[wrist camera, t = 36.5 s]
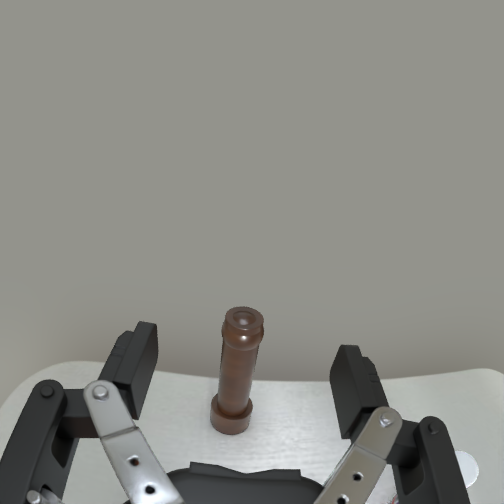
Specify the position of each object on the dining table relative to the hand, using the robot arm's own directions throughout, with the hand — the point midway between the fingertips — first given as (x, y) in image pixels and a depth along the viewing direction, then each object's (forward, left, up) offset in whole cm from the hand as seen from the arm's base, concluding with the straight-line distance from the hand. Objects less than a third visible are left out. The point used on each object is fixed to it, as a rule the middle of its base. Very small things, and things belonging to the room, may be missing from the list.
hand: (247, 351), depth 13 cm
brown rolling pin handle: (+5, +10, -22) cm, 25 cm away
